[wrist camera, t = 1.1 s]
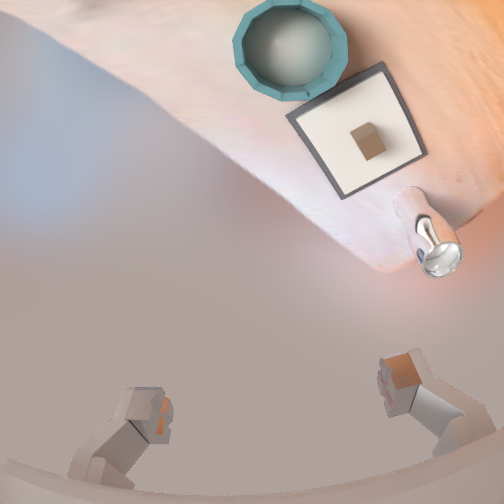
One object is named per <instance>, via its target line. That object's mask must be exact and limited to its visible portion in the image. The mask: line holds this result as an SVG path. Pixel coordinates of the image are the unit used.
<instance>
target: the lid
mask: <svg viewBox="0 0 504 504" xmlns="http://www.w3.org/2000/svg"><path fill="white" fill-rule="evenodd" d="M296 121H297V122H298V123H299V125H300V126H301V128H302V129H303V131H304V132H305V134H306V135H307V136H308V138H309V139H310V141H311V142H312V144H313V145H314V147H315V148H316V150H317V151H318V153H319V154H320V156H321V158H322V159H323V161H324V162H325V164H326V165H327V167H328V168H329V170H330V172H331V173H332V175H333V176H334V178H335V180H336V181H337V183H338V184H339V186H340V188H341V189H342V191H343V193H344V194H345V195H346V194H348V193H350V192H352V191H353V190H355V189H357V188H359V187H361V186H363V185H365V184H366V183H368V182H370V181H372V180H374V179H376V178H378V177H380V176H381V175H383V174H385V173H387V172H389V171H391V170H393V169H395V168H396V167H398V166H400V165H402V164H404V163H406V162H408V161H410V160H411V159H413V158H415V157H417V156H419V155H421V154H422V153H421V150H420V148H419V145H418V143H417V141H416V138H415V136H414V134H413V132H412V129H411V127H410V125H409V123H408V121H407V118H406V116H405V114H404V112H403V110H402V108H401V106H400V104H399V102H398V100H397V98H396V96H395V94H394V92H393V90H392V88H391V86H390V85H389V83H388V81H387V79H386V77H385V75H384V74H383V72H382V71H380V72H378V73H376V74H374V75H372V76H370V77H369V78H367V79H365V80H363V81H361V82H359V83H357V84H355V85H353V86H352V87H350V88H348V89H346V90H344V91H342V92H341V93H339V94H337V95H335V96H333V97H332V98H330V99H328V100H326V101H325V102H323V103H321V104H319V105H318V106H316V107H314V108H313V109H311V110H309V111H307V112H306V113H304V114H302V115H301V116H299V117H297V118H296Z"/></svg>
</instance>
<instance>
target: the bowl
mask: <svg viewBox="0 0 504 504" xmlns="http://www.w3.org/2000/svg"><path fill="white" fill-rule="evenodd" d="M245 14H246V15H245ZM245 14H244V16H243V18H242V20H241V22H240V24H239V26H238V28H237V30H236V32H235V35H234V37H233V40H232V42H233V49H234V57H235V65H236V68H237V69H238V70H239V72H240V73H241V74H242V75H243V77H244V78H245V79H246V80H247V82H248V83H249V84H250V85H251V87H252V88H253V89H254V90H256V91H259V92H261V93H263V94H266V95H268V96H270V97H272V98H275V99H277V100H279V101H297V100H311V99H313V98H315V97H316V96H318V95H320V94H322V93H323V92H325V91H327V90H329V89H330V88H332V87H334V85H336V83H337V81H338V80H339V78H340V76H341V74H342V73H343V71H344V69H345V67H346V66H347V64H348V45H347V34H346V33H345V31H344V30H343V28H342V27H341V25H340V24H339V22H338V21H337V20H336V18H335V17H334V15H333V14H332V13H331V11H330V10H328V9H326V8H324V7H322V6H320V5H318V4H316V3H314V2H312V1H310V0H266V1H265V2H263V3H261V4H260V5H258V6H256V7H255V8H253V9H252V10H250V11H248V12H247V13H245ZM255 20H256V21H255ZM254 21H255V22H254ZM245 39H246V40H245Z"/></svg>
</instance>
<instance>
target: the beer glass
mask: <svg viewBox="0 0 504 504" xmlns="http://www.w3.org/2000/svg"><path fill="white" fill-rule="evenodd" d="M393 208H394V211H395V213H396V214H397V215H398V216H399V217H400V218H401V220H402V221H403V223H404V226H405V229H406V234H407V238H408V241H409V244H410V247H411V250H412V252H413V254H414V256H415V258H416V260H417V261H418V263H419V265H420V266H421V268H422V270H423V272H424V274H425V275H426V276H427V277H429V278H433V279H439V278H443V277H446V276H448V275H450V274H451V273H453V272H454V271H455V270H456V269H457V268H458V267H459V266H460V264H461V262H462V260H463V257H464V250H463V247H462V246H461V244H460V242H459V240H458V238H457V236H456V234H455V232H454V231H453V229H452V228H451V226H450V225H449V223H448V222H447V221H446V220H445V219H444V218H443V217H442V216H441V215H440V214H439V213H438V212H437V211H436V210H434V209H433V208H432V207H431V206H430V205H429V204H428V202H427V199H426V197H425V194H424V193H423V191H422V190H420V189H419V188H416V187H407V188H405V189H403V190H401V191H400V192H399V193H398V194H397V195H396V197H395V199H394V202H393Z"/></svg>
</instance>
